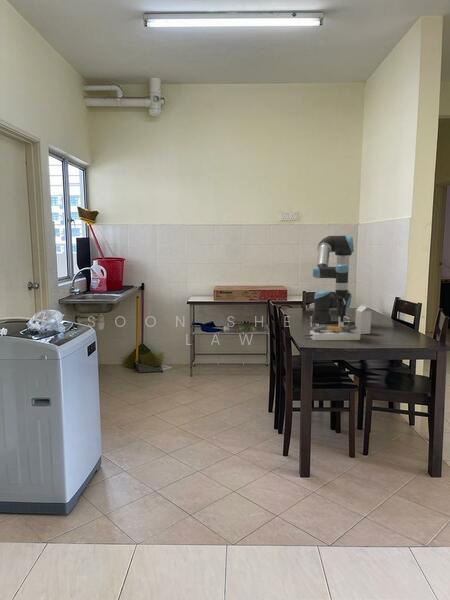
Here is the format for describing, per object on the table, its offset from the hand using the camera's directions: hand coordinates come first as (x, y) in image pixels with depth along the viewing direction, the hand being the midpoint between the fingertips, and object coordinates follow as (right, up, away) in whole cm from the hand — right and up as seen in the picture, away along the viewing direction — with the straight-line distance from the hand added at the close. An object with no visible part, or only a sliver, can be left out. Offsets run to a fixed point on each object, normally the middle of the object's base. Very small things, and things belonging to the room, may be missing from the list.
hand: (341, 326), depth 273 cm
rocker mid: (-4, -1, 0) cm, 4 cm away
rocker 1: (-14, -1, -1) cm, 14 cm away
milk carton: (+18, -5, +15) cm, 25 cm away
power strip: (-7, -7, -1) cm, 10 cm away
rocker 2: (+5, -1, +1) cm, 5 cm away
